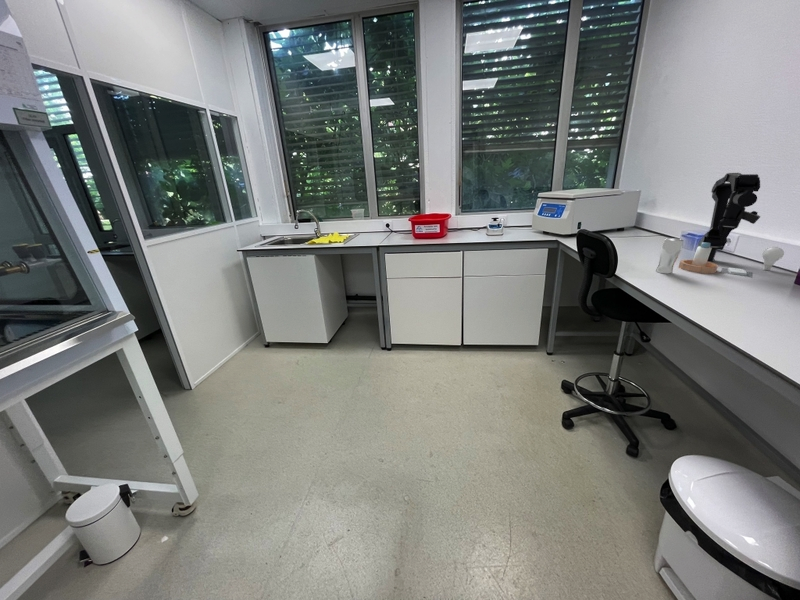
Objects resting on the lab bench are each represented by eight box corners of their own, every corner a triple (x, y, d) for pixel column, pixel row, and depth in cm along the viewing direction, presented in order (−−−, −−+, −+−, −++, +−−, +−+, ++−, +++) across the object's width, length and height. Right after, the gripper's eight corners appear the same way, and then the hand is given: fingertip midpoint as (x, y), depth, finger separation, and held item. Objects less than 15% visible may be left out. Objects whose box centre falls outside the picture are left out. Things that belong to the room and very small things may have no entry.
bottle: (695, 266, 151) (704, 241, 146) (706, 269, 146) (716, 243, 142) (687, 267, 150) (696, 242, 145) (698, 270, 145) (707, 244, 141)
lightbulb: (771, 269, 147) (782, 246, 142) (778, 273, 141) (789, 249, 137) (752, 268, 149) (762, 244, 145) (759, 271, 144) (769, 247, 140)
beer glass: (666, 269, 149) (677, 237, 143) (677, 274, 142) (688, 241, 137) (650, 269, 150) (660, 237, 144) (660, 274, 143) (671, 241, 137)
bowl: (680, 264, 157) (683, 258, 155) (716, 269, 148) (719, 263, 147) (676, 270, 148) (678, 263, 147) (714, 276, 140) (716, 269, 138)
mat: (721, 268, 149) (722, 267, 149) (752, 273, 142) (752, 272, 142) (720, 273, 143) (720, 272, 143) (752, 278, 136) (752, 277, 136)
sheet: (727, 269, 146) (728, 267, 146) (742, 271, 144) (743, 269, 143) (730, 273, 141) (731, 271, 141) (746, 275, 138) (747, 273, 138)
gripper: (762, 207, 129) (747, 245, 135) (763, 204, 141) (749, 239, 147) (725, 206, 136) (712, 242, 142) (728, 202, 148) (716, 236, 154)
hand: (723, 240), depth 146 cm, fingers open, 9 cm apart
